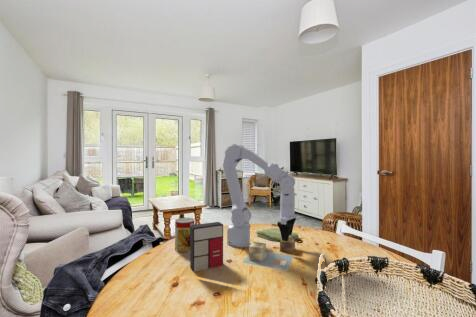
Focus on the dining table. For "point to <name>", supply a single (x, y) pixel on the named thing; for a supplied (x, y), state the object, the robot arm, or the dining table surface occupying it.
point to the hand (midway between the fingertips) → (286, 237)
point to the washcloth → (274, 234)
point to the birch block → (257, 251)
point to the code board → (273, 261)
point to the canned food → (183, 234)
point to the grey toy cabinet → (206, 246)
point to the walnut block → (287, 245)
